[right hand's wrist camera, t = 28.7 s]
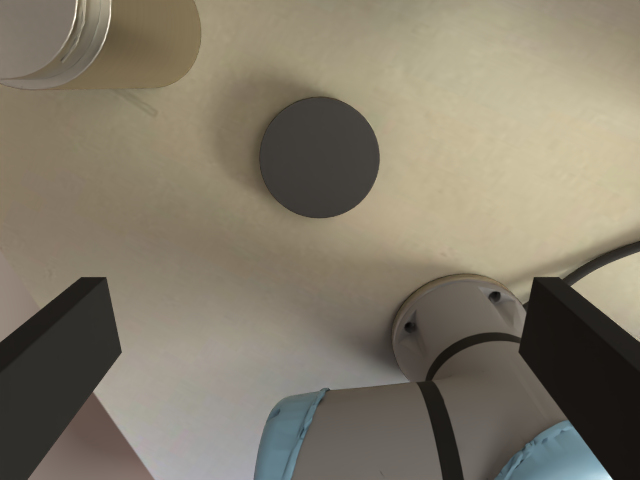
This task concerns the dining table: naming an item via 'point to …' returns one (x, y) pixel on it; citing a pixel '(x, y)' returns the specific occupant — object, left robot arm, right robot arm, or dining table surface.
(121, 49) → the jar
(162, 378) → the dining table surface
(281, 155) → the lid
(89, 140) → the dining table surface
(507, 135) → the dining table surface
